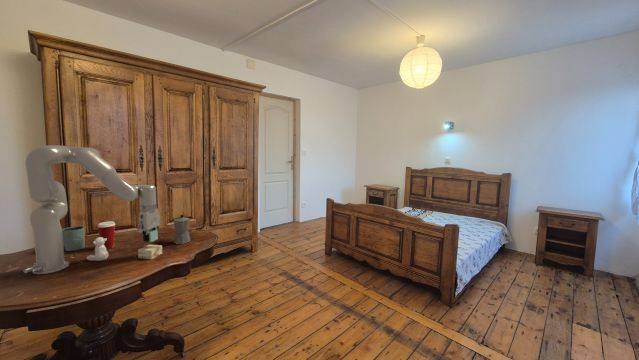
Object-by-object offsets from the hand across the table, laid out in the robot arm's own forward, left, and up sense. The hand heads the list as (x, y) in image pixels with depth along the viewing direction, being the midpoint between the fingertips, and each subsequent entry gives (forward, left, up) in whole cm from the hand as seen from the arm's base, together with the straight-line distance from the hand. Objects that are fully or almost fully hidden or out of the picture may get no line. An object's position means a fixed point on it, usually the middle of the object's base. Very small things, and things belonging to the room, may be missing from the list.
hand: (150, 239), depth 145 cm
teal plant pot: (0, +50, -10) cm, 51 cm away
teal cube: (0, 0, -1) cm, 1 cm away
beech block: (0, 0, -10) cm, 10 cm away
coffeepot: (+24, -2, -10) cm, 26 cm away
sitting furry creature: (-9, +22, -10) cm, 26 cm away
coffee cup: (+5, +33, -10) cm, 35 cm away
